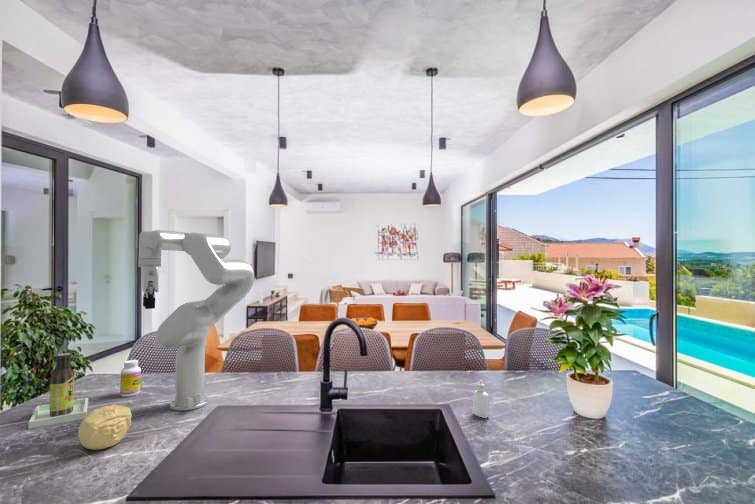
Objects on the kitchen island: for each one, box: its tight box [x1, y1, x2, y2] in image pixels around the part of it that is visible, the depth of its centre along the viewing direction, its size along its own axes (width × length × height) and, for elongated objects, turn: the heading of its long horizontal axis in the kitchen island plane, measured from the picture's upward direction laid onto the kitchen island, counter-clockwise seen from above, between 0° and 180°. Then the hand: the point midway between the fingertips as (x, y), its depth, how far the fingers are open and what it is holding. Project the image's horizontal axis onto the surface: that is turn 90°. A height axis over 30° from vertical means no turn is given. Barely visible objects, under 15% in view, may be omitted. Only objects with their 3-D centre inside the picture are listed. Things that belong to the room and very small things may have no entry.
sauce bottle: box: [49, 352, 76, 417], centre depth 126 cm, size 6×6×20 cm
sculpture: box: [77, 403, 133, 451], centre depth 106 cm, size 12×12×11 cm
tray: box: [28, 397, 89, 430], centre depth 126 cm, size 16×14×2 cm
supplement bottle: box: [119, 359, 142, 398], centre depth 147 cm, size 7×7×13 cm
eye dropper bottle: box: [472, 379, 490, 419], centre depth 128 cm, size 4×6×12 cm
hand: (148, 307), depth 145 cm, fingers open, 9 cm apart
